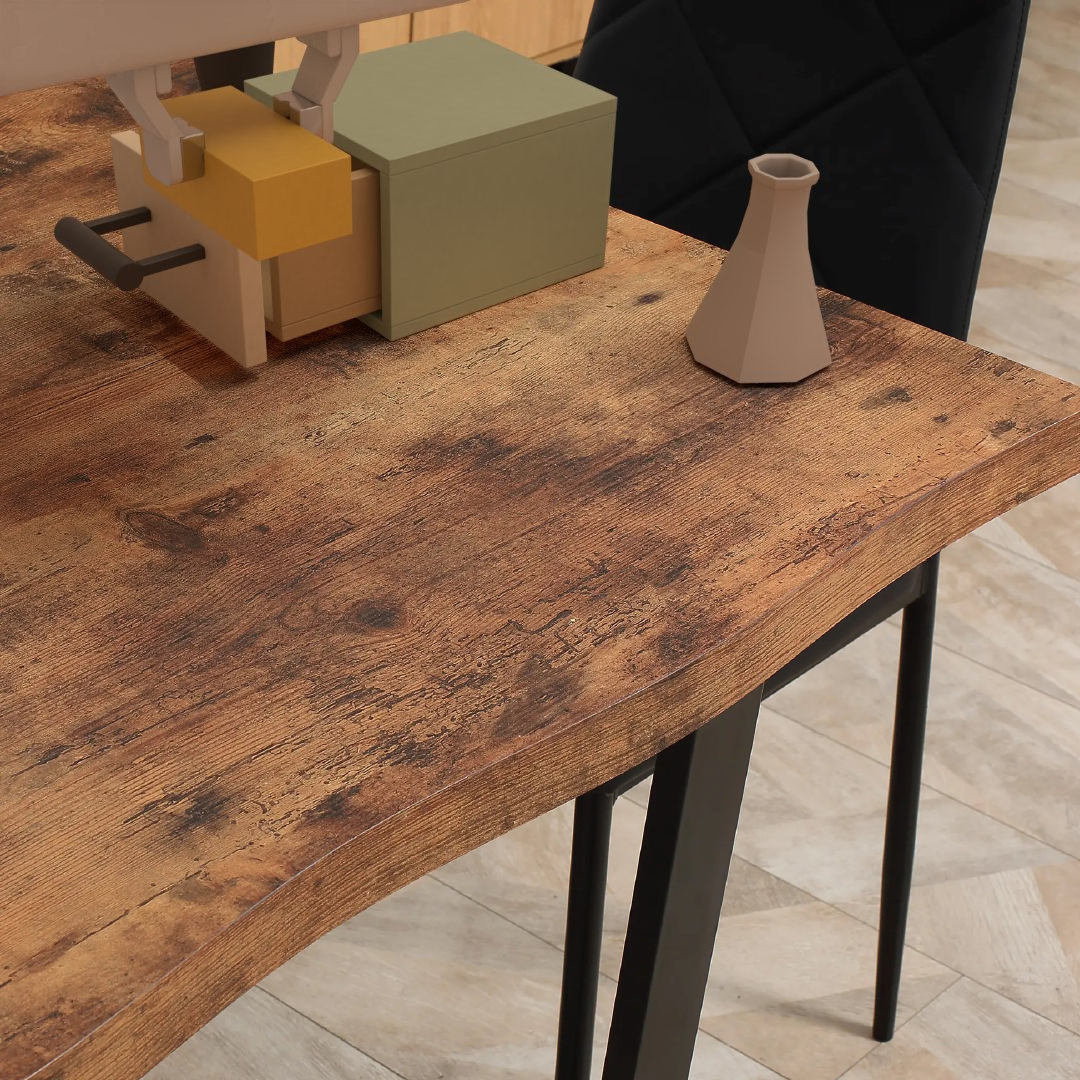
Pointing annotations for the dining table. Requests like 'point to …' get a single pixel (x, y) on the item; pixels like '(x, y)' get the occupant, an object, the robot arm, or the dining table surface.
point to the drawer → (231, 264)
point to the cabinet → (472, 173)
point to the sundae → (234, 66)
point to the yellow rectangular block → (260, 176)
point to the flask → (766, 285)
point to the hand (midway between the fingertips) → (241, 161)
